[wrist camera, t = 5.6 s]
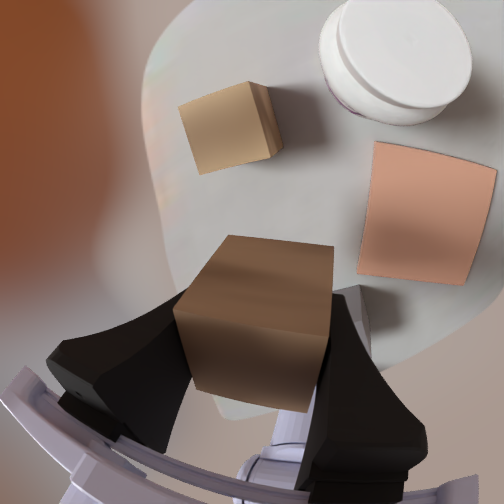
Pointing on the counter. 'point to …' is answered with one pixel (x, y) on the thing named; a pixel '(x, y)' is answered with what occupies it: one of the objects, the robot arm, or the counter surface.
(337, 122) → the counter surface
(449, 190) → the terracotta coaster
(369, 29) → the pill bottle
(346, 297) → the gray block
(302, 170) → the counter surface
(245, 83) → the oak block
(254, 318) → the walnut block
